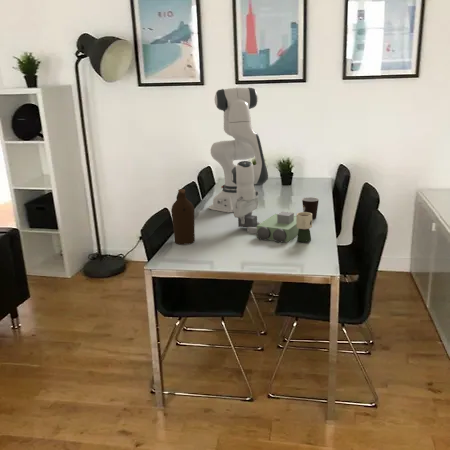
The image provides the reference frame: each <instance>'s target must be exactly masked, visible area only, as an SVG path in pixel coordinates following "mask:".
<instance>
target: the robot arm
mask: <svg viewBox="0 0 450 450" xmlns="http://www.w3.org/2000/svg"><path fill="white" fill-rule="evenodd" d="M258 100H259V96H258V92H257V90H256V89H255V88H254V87H233V88H225V89H224V88H221V89H218V90H217V91H216V92H215V96H214V104H215V106H216V108H217V109H218V110H219V111H222V112H223V131H224V132H225V134H226V135H228V136H231V137H232V138H233V140H220V141H216V142H213V143H212V144H211V147H210V155H211V157H212V159H213V160H214V161H216V162H218V163H219V165H220V166H221V168H222V172H223V174H224V175H223V176H224V184H222V185H221V187H220V188H221V189H222V191H220V192H219V193H218V194H216V196H214V198H213V200H212V204H210V205H209V207H208V209H209V210H212V211H218V212H224V213H233V216H234V218H237V219H238V218H240V219H241V224H245V223H246V220H245V219H244V217H245V215H246V214H248V213H250V215H253V211H256V210H257V209H258V207H259V195H260V192H259V190H255V185H259V186H260V185H264V184H265V183H266V182H267V181H268V180H269V171H268V168H267V165H266V161H265V156H264V152H263V148H262V144H261V140H260V137H259V134H258V132H256V131H254V129H253V127H252V120H251V111H250V109H254V108H255V107H256V106H257V105H258V102H259V101H258ZM253 158H255V164H253V162H252V161H247V160H250V159H253ZM234 161H239V162H237V164H234Z"/></svg>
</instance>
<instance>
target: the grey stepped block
mask: <svg viewBox="0 0 450 450" xmlns="http://www.w3.org/2000/svg"><path fill="white" fill-rule="evenodd" d="M244 219H245V220H246V223H245V224H241V219H240V218H237V221H238V222H237V223H238V224H237V225H238V227H239V228H246V229H247V227H256V226H257V222H258V216H257V215H253V214H252V215H250V213H248V214H246V215H245V217H244Z"/></svg>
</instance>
